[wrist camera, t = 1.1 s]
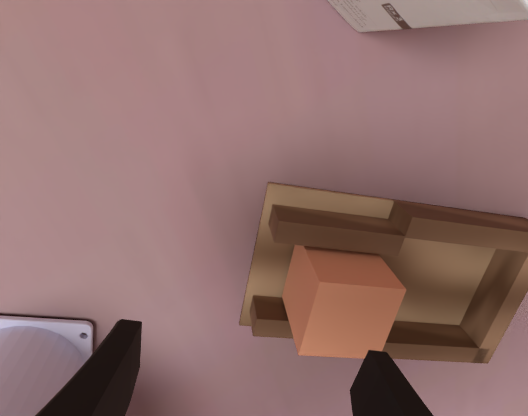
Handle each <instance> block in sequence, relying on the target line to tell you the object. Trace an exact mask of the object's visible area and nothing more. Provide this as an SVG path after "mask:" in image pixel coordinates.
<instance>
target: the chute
mask: <svg viewBox="0 0 528 416" xmlns="http://www.w3.org/2000/svg"><path fill="white" fill-rule="evenodd" d="M295 245H301V246H311V247H320V248H329V249H338V250H347V251H357V252H366V253H375V254H379V255H380V257H381V258H382V259H383V261H384V262H385V263H386V264H387V266H388V267H389V268H390V269H391V271H392V272H393V273H394V274H395V276H396V277H397V278H398V279H399V281H400V282H401V283H402V285H403V286H404V287H405V288H406V292H405V295H404V297H403V300H402V302H401V305H400V307H399V310H398V312H397V315H396V317H395V320H394V322H393V325H392V327H391V330H390V332H389V335H388V337H387V340H386V343H385V345H384V348H383V350H382V351H383V352H387V353H388V354H389V356H390V357H391V358H392V359H411V360H431V361H450V362H470V363H488V362H489V361H490V359H491V357H492V355H493V353H494V351H495V350H496V348H497V346H498V344H499V342H500V340H501V339H502V337H503V335H504V333H505V331H506V329H507V328H508V326H509V324H510V322H511V320H512V318H513V316H514V315H515V313H516V311H517V309H518V307H519V305H520V304H521V302H522V300H523V298H524V296H525V294H526V293H527V291H528V220H527V219H526V218H521V217H514V216H507V215H500V214H493V213H485V212H478V211H471V210H464V209H457V208H450V207H443V206H435V205H428V204H421V203H414V202H407V201H400V200H393V199H385V198H378V197H371V196H364V195H357V194H350V193H343V192H335V191H328V190H321V189H314V188H307V187H300V186H292V185H285V184H278V183H271V182H268V185H267V190H266V195H265V200H264V204H263V209H262V214H261V219H260V224H259V229H258V234H257V238H256V243H255V248H254V253H253V258H252V263H251V268H250V272H249V277H248V282H247V287H246V292H245V297H244V302H243V307H242V311H241V316H240V321H239V325H244V326H252V333H253V336H260V337H277V338H293V334H292V330H291V327H290V323H289V320H288V316H287V313H286V309H285V305H284V302H283V298H282V294H283V290H284V286H285V282H286V278H287V274H288V270H289V266H290V262H291V258H292V254H293V250H294V246H295Z"/></svg>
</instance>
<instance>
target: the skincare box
mask: <svg viewBox="0 0 528 416" xmlns="http://www.w3.org/2000/svg"><path fill="white" fill-rule="evenodd" d="M328 2H329V3H330V4H331V5H332V6H333V7H334V8H335V9H336V10H337V11H338V13H339V14H340V15H341V16H342V17H343V18H344V19H345V20H346V21H347V22H348V23H349V24H350V25H351V26H352V27H353V28H354V29H355V30H356V31H358V32H370V31H386V30H400V29H413V28H424V27H440V26H453V25H466V24H478V23H494V22H506V21H519V20H528V0H328Z"/></svg>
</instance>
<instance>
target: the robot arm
mask: <svg viewBox="0 0 528 416" xmlns="http://www.w3.org/2000/svg"><path fill="white" fill-rule="evenodd" d="M141 329H142V322H140V321H132V320H124V319H121V320H119V321H118V322H117V323H116V324H115V326H114V327H113V329H112V330H111V331H110V333H109V334H108V335H107V337H106V338H105V339H104V340H103V342H102V343H101V344H100V345H99V347H98V348H97V349H96V350H95V352H94V353H93V325H92V324H91V323H90V322H89V321H81V320H64V319H48V318H32V317H16V316H0V416H125V414H126V411H127V409H128V406H129V403H130V401H131V397H132V393H133V390H134V386H135V383H136V379H137V375H138V371H139V368H140V351H141ZM82 333H86V334H87V335H84V334H82ZM92 353H93V354H92ZM350 395H351V404H352V412H353V416H433V415H432V413H431V412H430V411H429V409H428V408H427V407H426V405H425V404H424V403H423V401H422V400H421V399H420V397H419V396H418V395H417V393H416V392H415V390H414V389H413V388H412V386H411V385H410V383H409V382H408V381H407V379H406V378H405V377H404V375H403V374H402V372H401V371H400V370H399V368H398V367H397V365H396V364H395V363H394V361H393V360H392V358H391V357H390V356H389V354H388V353H387V352H383V351H375V350H368V353H367V355H366V357H365V359H364V361H363V363H362V365H361V368H360V370H359V372H358V374H357V376H356V378H355V380H354V383H353V385H352V387H351V389H350Z"/></svg>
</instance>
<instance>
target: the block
mask: <svg viewBox="0 0 528 416" xmlns="http://www.w3.org/2000/svg"><path fill="white" fill-rule="evenodd" d="M405 292H406V288H405V287H404V286H403V285H402V283H401V282H400V281H399V279H398V278H397V277H396V276H395V274H394V273H393V272H392V271H391V269H390V268H389V267H388V266H387V264H386V263H385V262H384V261H383V259H382V258H381V257H380V255H379V254H375V253H366V252H357V251H347V250H338V249H329V248H320V247H311V246H301V245H295V246H294V250H293V254H292V258H291V262H290V266H289V270H288V274H287V278H286V282H285V286H284V290H283V294H282V298H283V302H284V305H285V309H286V313H287V316H288V320H289V323H290V327H291V330H292V334H293V338H294V341H295V345H296V348H297V352H298V355H304V356H324V357H344V358H364V359H365V357H366V355H367V353H368V350H375V351H382V350H383V348H384V345H385V343H386V340H387V337H388V335H389V332H390V330H391V327H392V325H393V322H394V320H395V317H396V315H397V312H398V310H399V307H400V305H401V302H402V300H403V297H404V295H405Z"/></svg>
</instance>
